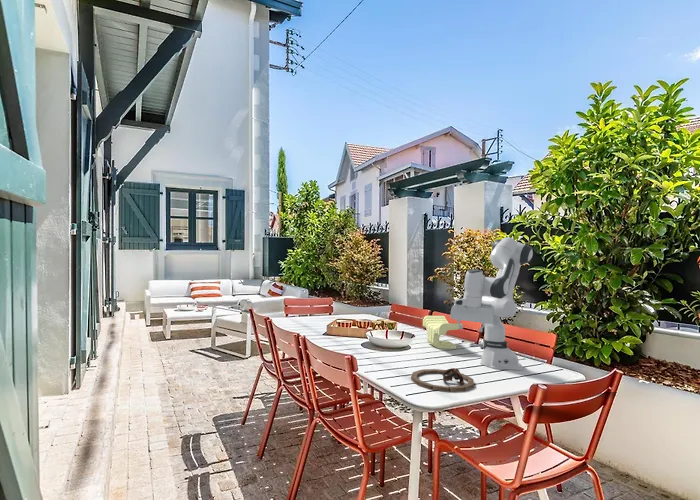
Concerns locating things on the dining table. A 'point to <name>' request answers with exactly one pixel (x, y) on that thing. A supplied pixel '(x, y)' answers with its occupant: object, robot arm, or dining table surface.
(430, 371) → the brown flat ring
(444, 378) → the dark brown arched piece
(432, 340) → the ribbed pale green clamp
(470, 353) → the dining table surface
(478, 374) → the dining table surface
